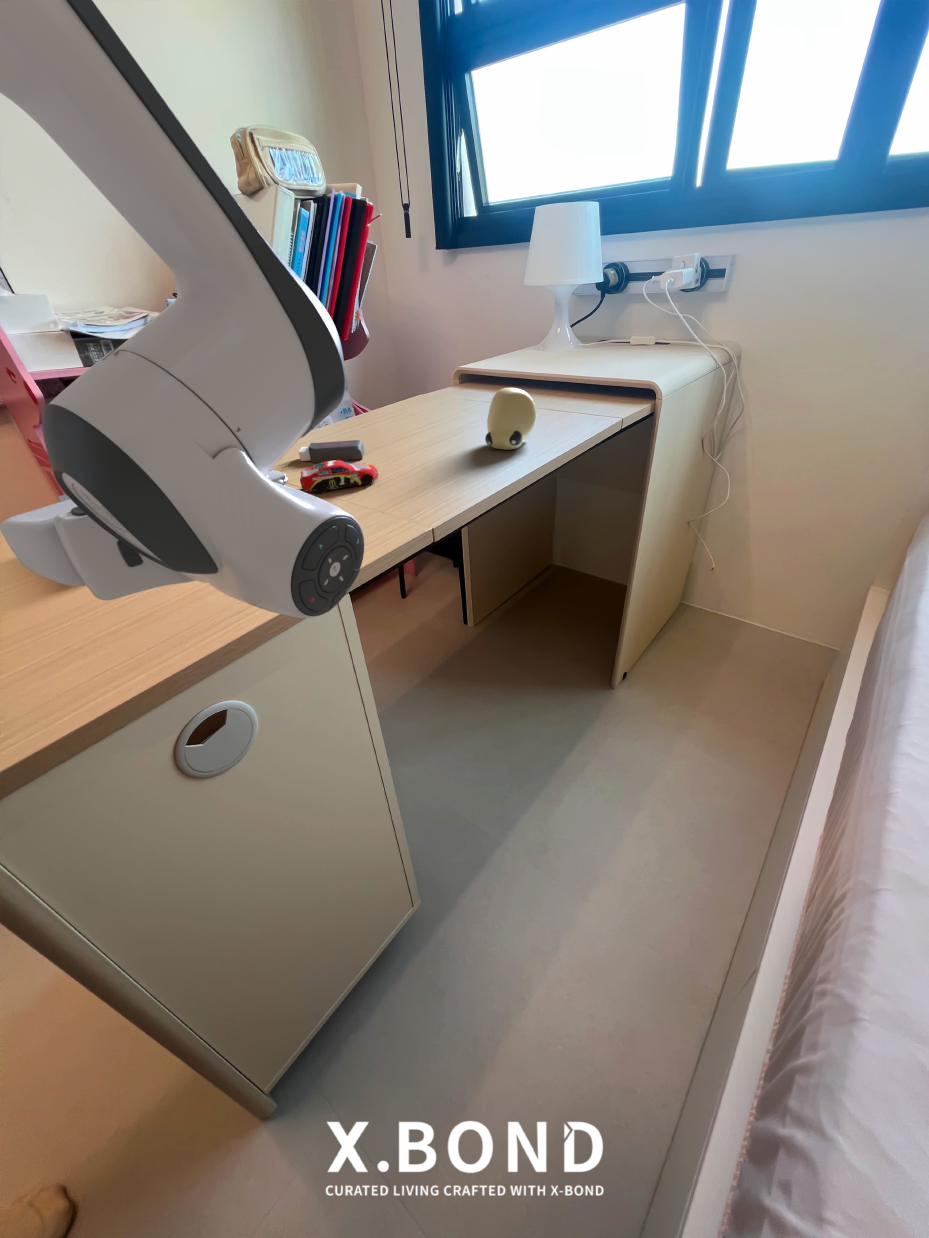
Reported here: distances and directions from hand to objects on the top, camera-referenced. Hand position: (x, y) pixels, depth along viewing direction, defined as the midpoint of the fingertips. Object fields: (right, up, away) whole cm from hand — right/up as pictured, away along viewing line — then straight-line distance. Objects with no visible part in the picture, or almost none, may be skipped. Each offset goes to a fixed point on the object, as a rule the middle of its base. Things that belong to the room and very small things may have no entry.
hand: (111, 489), depth 47 cm
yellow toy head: (+42, +23, +55) cm, 73 cm away
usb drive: (+7, +20, +53) cm, 57 cm away
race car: (+11, +11, +40) cm, 44 cm away
